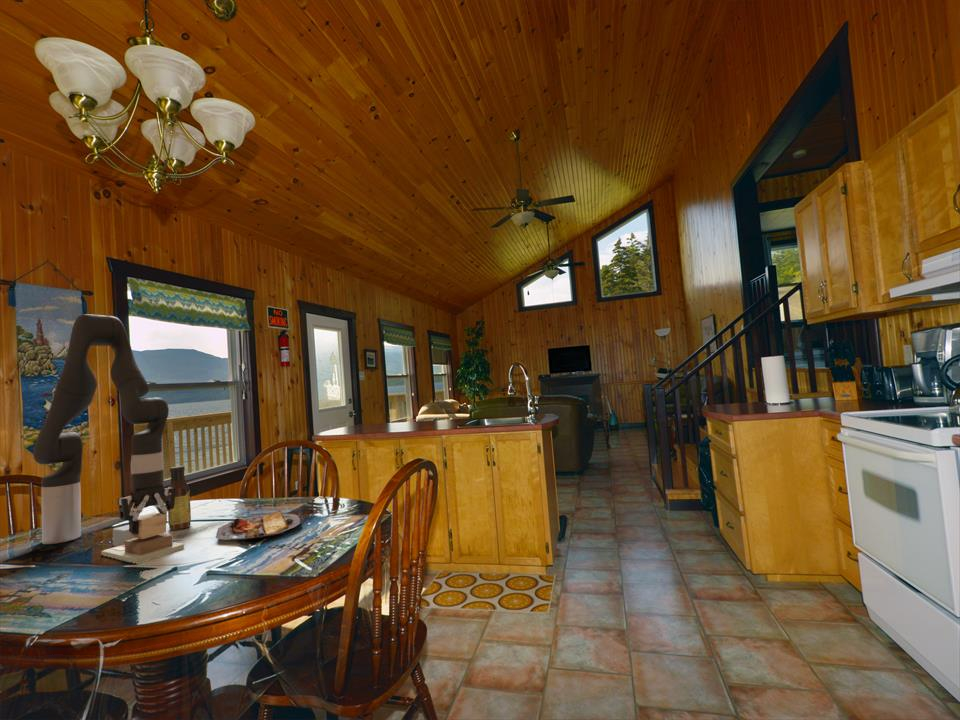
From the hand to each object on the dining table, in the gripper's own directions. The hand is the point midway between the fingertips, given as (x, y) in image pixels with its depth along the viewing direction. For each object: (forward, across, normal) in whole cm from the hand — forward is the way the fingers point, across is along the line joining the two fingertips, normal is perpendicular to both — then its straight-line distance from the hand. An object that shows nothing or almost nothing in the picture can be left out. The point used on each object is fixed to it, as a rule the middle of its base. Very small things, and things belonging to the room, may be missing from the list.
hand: (148, 530), depth 131 cm
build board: (+6, 0, -3) cm, 7 cm away
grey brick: (+6, -3, -16) cm, 17 cm away
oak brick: (+1, 0, 0) cm, 1 cm away
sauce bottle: (+7, -18, -17) cm, 26 cm away
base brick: (+5, 0, 0) cm, 5 cm away
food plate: (+7, -25, +13) cm, 29 cm away
